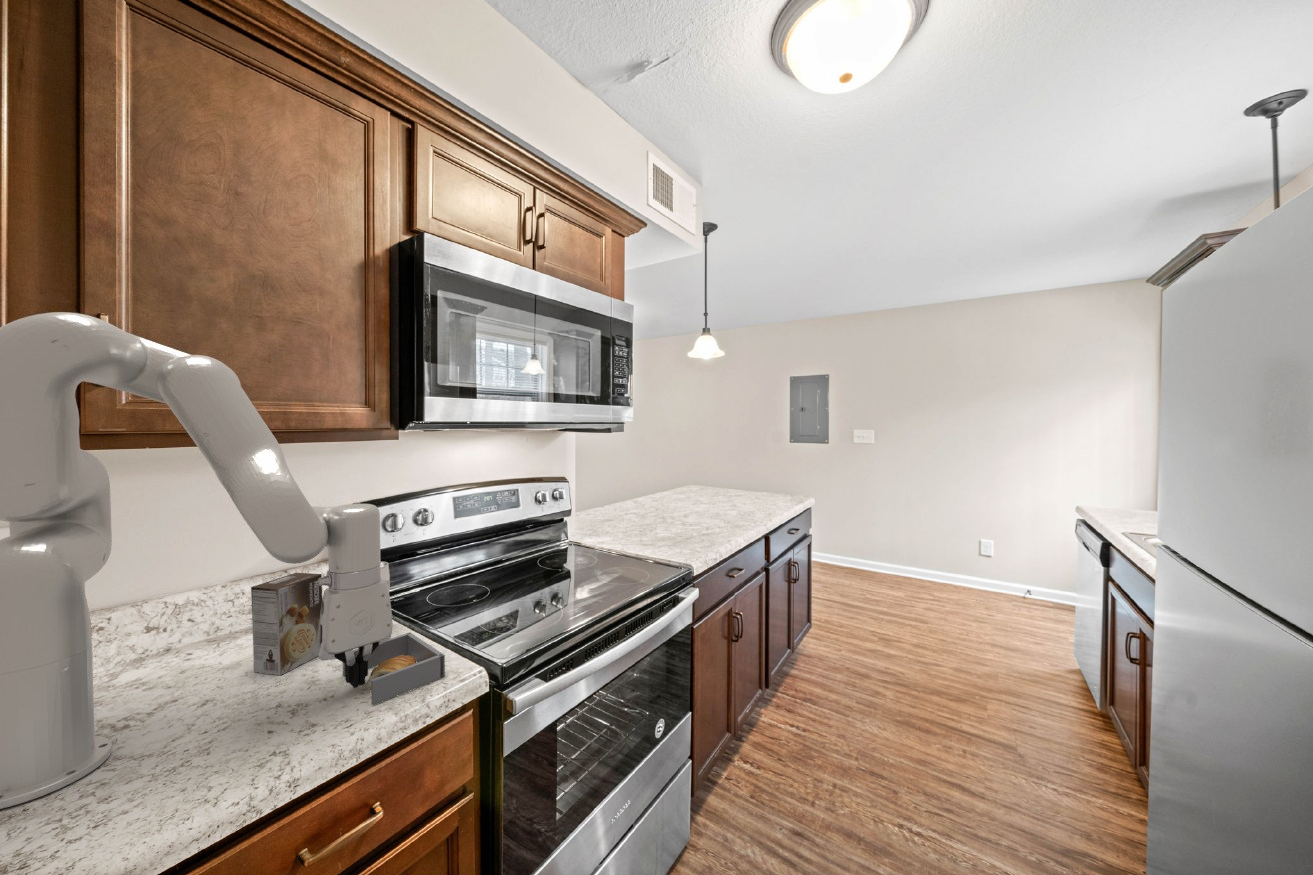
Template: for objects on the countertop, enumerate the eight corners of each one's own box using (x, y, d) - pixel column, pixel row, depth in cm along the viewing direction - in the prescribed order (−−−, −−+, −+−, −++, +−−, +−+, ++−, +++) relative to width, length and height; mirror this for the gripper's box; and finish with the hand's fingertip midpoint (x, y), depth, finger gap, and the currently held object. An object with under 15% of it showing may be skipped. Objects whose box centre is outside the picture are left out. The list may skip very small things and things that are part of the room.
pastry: (389, 666, 91) (389, 646, 91) (426, 665, 92) (426, 645, 92) (363, 693, 82) (362, 671, 82) (404, 692, 82) (404, 670, 82)
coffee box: (298, 650, 97) (296, 571, 97) (325, 653, 96) (323, 573, 96) (251, 673, 88) (250, 586, 88) (280, 676, 87) (278, 588, 87)
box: (373, 705, 78) (372, 681, 78) (342, 675, 87) (342, 653, 87) (444, 676, 87) (444, 654, 87) (410, 652, 96) (410, 632, 96)
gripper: (309, 594, 74) (311, 711, 74) (410, 571, 85) (411, 673, 86) (295, 583, 79) (297, 694, 79) (393, 563, 90) (394, 660, 91)
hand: (356, 683), depth 83 cm, fingers closed
